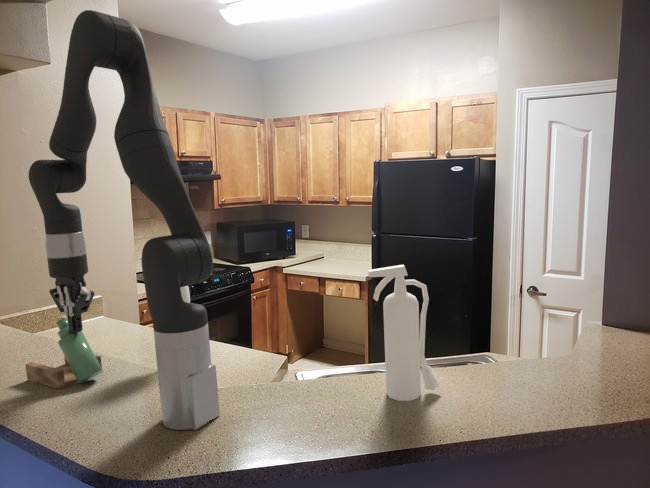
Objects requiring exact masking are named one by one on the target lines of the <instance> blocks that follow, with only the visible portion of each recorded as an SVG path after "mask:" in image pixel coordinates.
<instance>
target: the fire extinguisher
mask: <svg viewBox="0 0 650 488" xmlns="http://www.w3.org/2000/svg"><path fill="white" fill-rule="evenodd" d="M405 276H406V277H408V276H409V275H408V272H407V269H406V265H404V264H398V265H392V266H386V267H379V268H373V269H368V278H380V277H381V278H383V279H382V280H380V282H379V283H378V285H376V287H375V289H374V293H373V297H372V299H373V300H375V301H376V302H378V301H379V297H380V294H381V292H382V291H383V289H384V288H385V287H386V285H387V284H389V283H390V282H391V281H392V280H393V279H395V280H394V290H393V292H392V293H390V294H388V295H387V296H385V298H384V300H383V303H382V306H383V308H382V309H383V312H382V313H383V330H384V331H383V332H384V333H383V335H384V337H383V338H384V339H383V340H384V359H385V360H384V363H385V388H386V395H387V396H388V398H389V399H392V400H395V401H398V402H411V401H414V400H418V399H419V398H420V396H421V395H422V382H423V386H424V389H425V390H431V391H432V390H435V389H436V388H437V387H439V386H440V385H441V384H442V383H441V382H440V380H439V378H438V376H437V375H436V373H435V371H434V370H433V368H432V366H430V365H428V363H427V359H426V357H425V347H426V344H425V343H426V324H427V323H426V322H427V311H428V306H429V301H430V298H429V293H428V287H427V285H426V284H425V283H422V282H420V281H418V280H416V279H405ZM411 285H412V286H416V287H418V288H420V289H421V293H422V298H423V302H422V308H421V312H420V310H419V309H420V308H419V304H420V303H419V301H418V299H417V297H416V296H415V294H414V295H413V294H412V293H410V292H408V291H407V286H411ZM421 377H422V379H421Z"/></svg>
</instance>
